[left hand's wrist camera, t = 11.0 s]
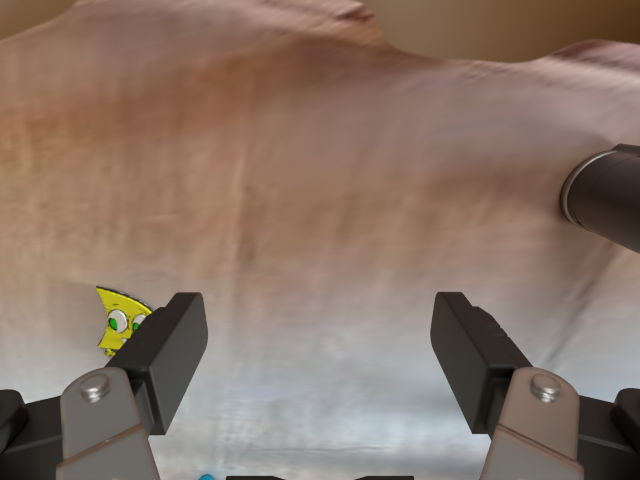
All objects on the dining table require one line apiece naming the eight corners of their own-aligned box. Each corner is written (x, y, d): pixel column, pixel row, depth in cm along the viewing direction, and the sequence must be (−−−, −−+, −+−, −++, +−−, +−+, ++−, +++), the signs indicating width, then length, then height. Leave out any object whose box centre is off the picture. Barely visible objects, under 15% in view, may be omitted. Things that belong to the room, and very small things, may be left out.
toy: (93, 376, 49) (92, 289, 44) (96, 371, 50) (96, 285, 45) (163, 388, 50) (171, 305, 45) (165, 384, 51) (173, 301, 46)
